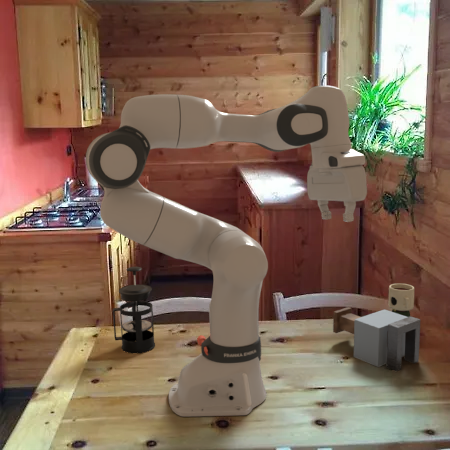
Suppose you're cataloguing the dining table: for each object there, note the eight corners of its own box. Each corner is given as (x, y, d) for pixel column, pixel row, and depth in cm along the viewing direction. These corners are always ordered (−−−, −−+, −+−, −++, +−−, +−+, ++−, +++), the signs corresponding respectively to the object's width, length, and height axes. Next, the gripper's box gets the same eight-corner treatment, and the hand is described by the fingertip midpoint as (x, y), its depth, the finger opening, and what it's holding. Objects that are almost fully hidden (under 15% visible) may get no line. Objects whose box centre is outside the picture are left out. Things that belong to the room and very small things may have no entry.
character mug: (382, 322, 177) (383, 281, 174) (405, 321, 177) (406, 281, 175) (394, 336, 166) (395, 293, 164) (418, 335, 167) (420, 292, 164)
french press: (155, 338, 169) (151, 261, 164) (159, 351, 160) (155, 270, 155) (114, 343, 166) (109, 265, 162) (116, 356, 157) (111, 274, 153)
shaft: (333, 332, 163) (333, 311, 161) (347, 327, 166) (348, 307, 165) (384, 352, 149) (385, 330, 147) (399, 346, 152) (400, 324, 151)
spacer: (386, 367, 147) (388, 324, 144) (408, 357, 152) (410, 316, 150) (396, 371, 144) (398, 327, 142) (418, 361, 150) (420, 319, 147)
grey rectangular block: (353, 356, 153) (354, 319, 151) (383, 345, 160) (384, 309, 158) (377, 367, 147) (379, 328, 145) (407, 354, 154) (409, 317, 152)
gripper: (298, 162, 139) (303, 219, 140) (343, 158, 120) (349, 224, 121) (321, 159, 141) (326, 216, 142) (369, 155, 122) (375, 220, 123)
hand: (337, 220), depth 132 cm, fingers open, 8 cm apart
